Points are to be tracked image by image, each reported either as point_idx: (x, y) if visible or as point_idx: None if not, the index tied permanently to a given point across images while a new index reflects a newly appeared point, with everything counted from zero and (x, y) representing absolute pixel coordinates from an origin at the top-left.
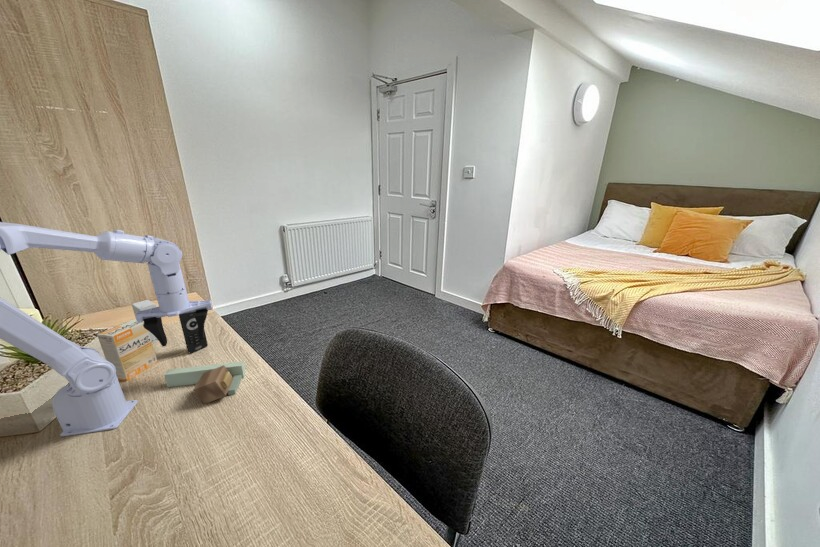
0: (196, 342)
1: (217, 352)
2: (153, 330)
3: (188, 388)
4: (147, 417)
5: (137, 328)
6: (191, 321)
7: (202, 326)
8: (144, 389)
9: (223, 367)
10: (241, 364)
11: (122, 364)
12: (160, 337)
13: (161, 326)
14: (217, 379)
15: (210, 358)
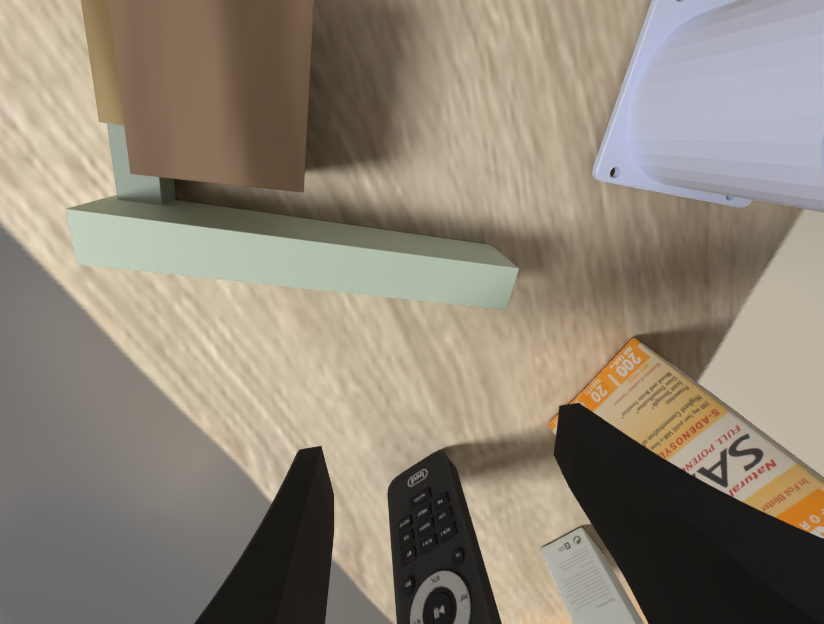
0: (424, 500)
1: (339, 441)
2: (779, 543)
3: (403, 206)
4: (543, 24)
5: None
6: None
7: (238, 574)
8: (574, 266)
9: (128, 148)
10: (73, 225)
11: (693, 387)
12: (636, 463)
13: (663, 606)
14: None
15: (358, 407)
